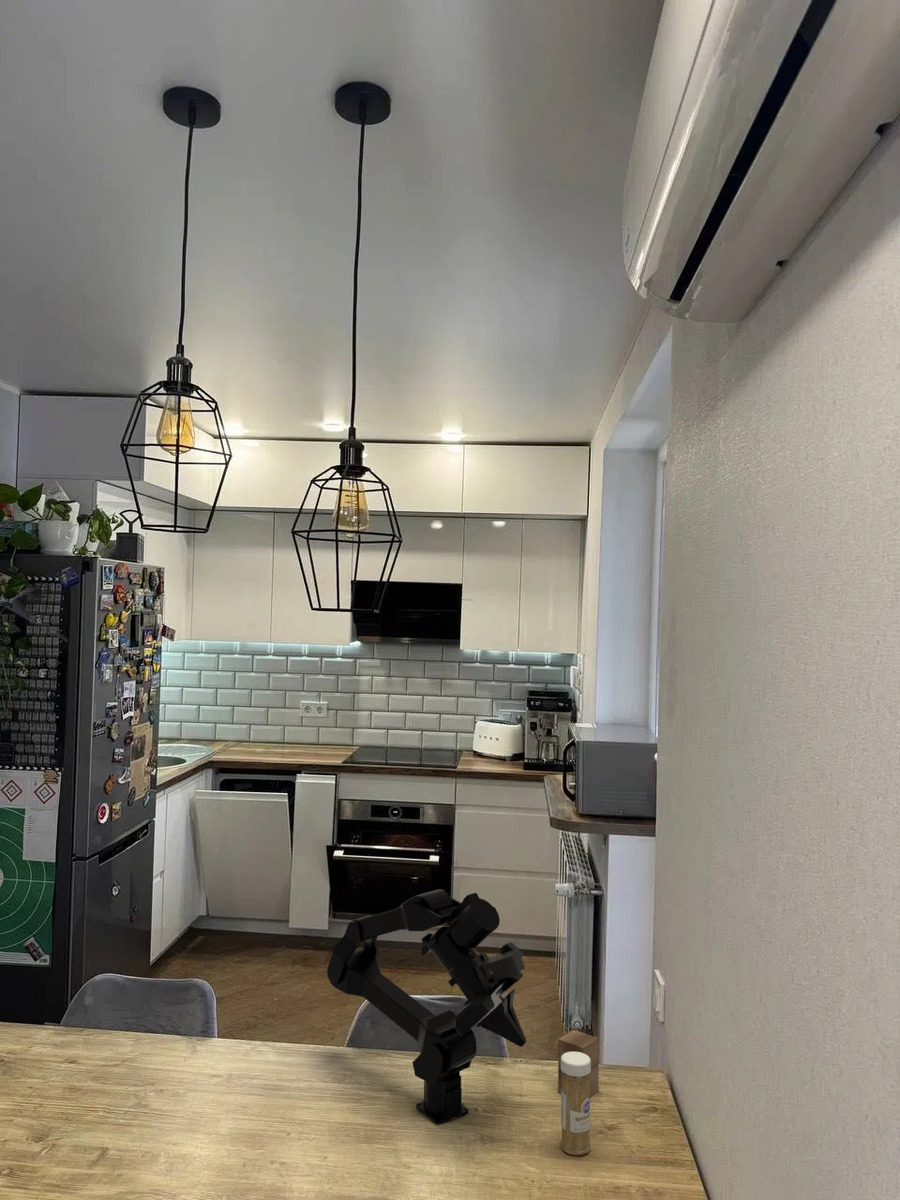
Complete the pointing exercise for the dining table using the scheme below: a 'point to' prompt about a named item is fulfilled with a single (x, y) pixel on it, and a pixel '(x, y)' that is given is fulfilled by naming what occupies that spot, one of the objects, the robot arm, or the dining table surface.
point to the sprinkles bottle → (575, 1103)
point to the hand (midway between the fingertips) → (523, 1044)
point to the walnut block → (582, 1044)
